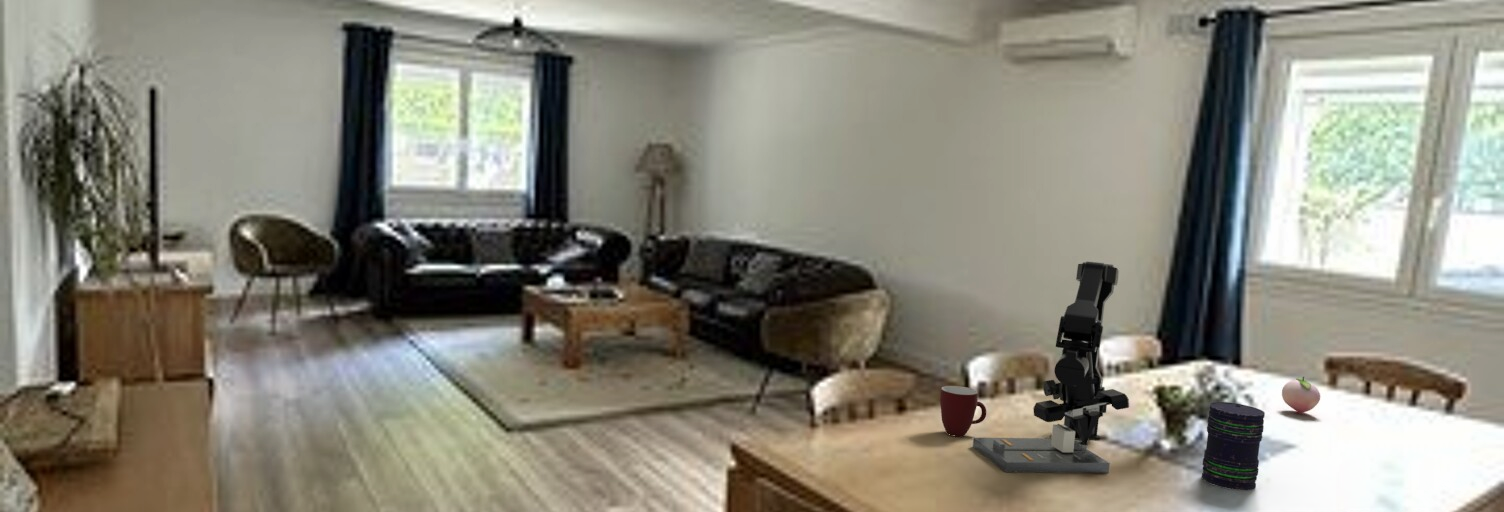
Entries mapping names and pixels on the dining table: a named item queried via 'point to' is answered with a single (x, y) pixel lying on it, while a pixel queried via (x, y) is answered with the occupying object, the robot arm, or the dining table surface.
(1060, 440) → the fader
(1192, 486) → the dining table surface
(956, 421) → the mug
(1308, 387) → the decorative fruit
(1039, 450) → the console
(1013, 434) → the dining table surface
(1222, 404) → the storage jar
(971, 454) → the dining table surface
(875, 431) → the dining table surface
